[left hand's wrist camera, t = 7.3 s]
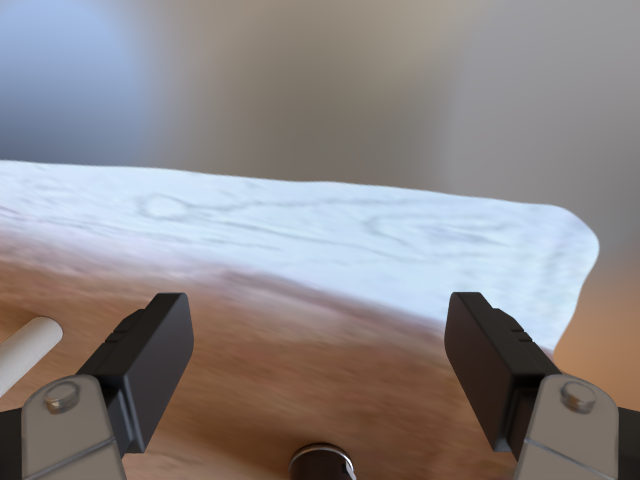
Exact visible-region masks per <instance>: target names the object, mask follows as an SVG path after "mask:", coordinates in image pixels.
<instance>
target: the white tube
mask: <svg viewBox="0 0 640 480" xmlns="http://www.w3.org/2000/svg"><path fill="white" fill-rule="evenodd" d="M62 336H63V332H62V329H61V327H60V326H59V324H58V323H57V322H55V321H54V320H52V319H50V318H47V317H36V318H33V319H32V320H31V321H29V322H28V323H27V324H25V325H24V326H23V327H22V328H20V329H19V330H18V331H17V332H15V333H14V334H13V335H11V336H10V337H9V338H8V339H6V340H5V341H4V342H2V343H1V344H0V397H1V396H2V395H3V394H4V393H6V392H7V391H8V390H9V389H10V388H11V387H12V386H13V385H14V384H15V383H16V382H17V381H18V380H19V379H20V378H21V377H22V376H23V375H25V374H26V373H27V372H28V371H29V370H30V369H31V368H32V367H33V366H34V365H35V364H36V363H37V362H38V361H39V360H40V359H41V358H42V357H44V356H45V355H46V354H47V353H48V352H49V351H50V350H51V349H52V348H53V347H54V346H55V345H56V344H57V343H58V342H59V341H60V340H61V339H62Z"/></svg>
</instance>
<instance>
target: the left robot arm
mask: <svg viewBox="0 0 640 480" xmlns="http://www.w3.org/2000/svg"><path fill="white" fill-rule="evenodd" d="M444 343H445V350H446V354H447V357H448V359H449V361H450V363H451V365H452V367H453V369H454V371H455V373H456V375H457V377H458V379H459V382H460V384H461V386H462V388H463V390H464V392H465V394H466V396H467V398H468V400H469V402H470V404H471V406H472V408H473V410H474V412H475V414H476V417H477V419H478V421H479V423H480V425H481V427H482V429H483V431H484V433H485V435H486V437H487V439H488V441H489V443H490V445H491V447H492V449H493V451H494V452H512V453H513V455H514V457H515V458H516V460H517V462H518V464H517V468H516V471H515V475H514V478H513V480H640V412H638V411H634V410H629V409H625V408H621V407H617V405H616V404H615V402H614V401H613V400H612V399H611V397H610V396H609V395H607V394H606V393H605V392H604V391H603V390H601V389H600V388H598V387H597V386H595V385H593V384H591V383H589V382H587V381H585V380H582V379H580V378H577V377H573V376H569V375H563V374H562V373H561V372H560V371H559V370H558V368H557V367H556V366H555V365H554V364H553V363H552V362H551V360H550V359H549V358H548V357H547V356H546V355H545V353H544V352H543V351H542V350H541V349H540V348H539V347H538V345H537V344H536V343H535V342H533V341H532V338H531V337H530V336H529V335H528V334H527V333H526V332H524V329H523V328H522V327H521V326H520V325H519V324H518V322H517V321H516V320H515V319H514V318H513V317H511V316H510V315H508V314H506V313H505V312H503V311H502V310H500V309H499V308H492V306H491V305H490V304H489V303H488V302H487V300H486V299H485V298H484V297H483V295H482V294H481V293H479V292H453V293H452V294H451V297H450V302H449V308H448V315H447V322H446V329H445V336H444ZM193 345H194V336H193V329H192V322H191V316H190V309H189V302H188V298H187V295H186V294H185V293H158V294H157V295H156V296H155V297H154V298H153V299H152V301H151V302H150V303H149V304H148V306H147V307H146V308H145V309H139V310H137V311H136V312H134V313H132V314H131V315H129V316H128V317H126V318H124V319H123V320H122V321H121V323H120V324H119V325H118V326H117V327H116V328H115V329H114V331H113V333H111V334H110V335H109V336H108V337H107V339H106V340H105V343H102V344H101V345H100V347H99V348H98V349H97V350H96V351H95V352H94V353H93V355H92V356H91V357H90V358H89V359H88V360H87V361H86V363H85V364H84V365H83V366H82V367H81V368H80V369H79V371H78V372H77V373H76V374H75V375H71V376H67V377H63V378H60V379H58V380H55V381H53V382H51V383H49V384H47V385H45V386H43V387H42V388H40V389H39V390H37V391H36V392H35V393H34V394H33V395H31V396H30V397H29V399H28V400H27V401H26V402H25V404H24V405H23V407H21V408H18V409H13V410H9V411H4V412H0V480H127V478H126V475H125V471H124V468H123V464H122V461H121V460H122V458H123V456H124V454H125V453H144V451H145V449H146V447H147V445H148V443H149V441H150V439H151V437H152V435H153V433H154V431H155V429H156V427H157V425H158V423H159V421H160V419H161V417H162V415H163V413H164V411H165V409H166V407H167V404H168V402H169V400H170V398H171V396H172V394H173V392H174V390H175V388H176V386H177V384H178V382H179V380H180V378H181V376H182V374H183V372H184V370H185V368H186V366H187V364H188V362H189V360H190V358H191V355H192V351H193ZM289 480H356V477H355V475H354V473H353V464H352V461H351V458H350V457H349V456H348V454H347V453H346V452H344V451H343V450H342V449H340V448H338V447H335V446H332V445H326V444H315V445H310V446H307V447H304V448H302V449H300V450H299V451H297V452H296V453H295V454H294V455H293V457H292V458H291V460H290V463H289Z"/></svg>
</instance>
